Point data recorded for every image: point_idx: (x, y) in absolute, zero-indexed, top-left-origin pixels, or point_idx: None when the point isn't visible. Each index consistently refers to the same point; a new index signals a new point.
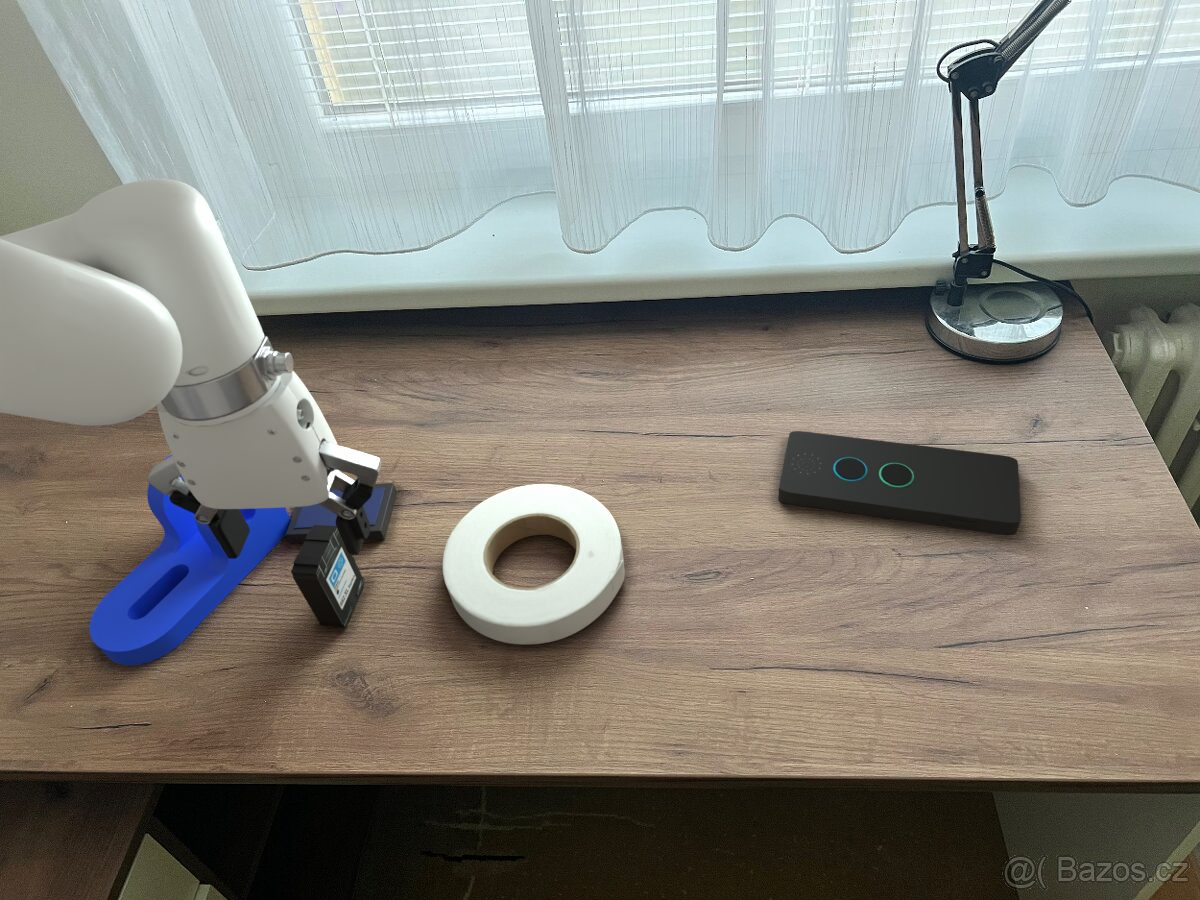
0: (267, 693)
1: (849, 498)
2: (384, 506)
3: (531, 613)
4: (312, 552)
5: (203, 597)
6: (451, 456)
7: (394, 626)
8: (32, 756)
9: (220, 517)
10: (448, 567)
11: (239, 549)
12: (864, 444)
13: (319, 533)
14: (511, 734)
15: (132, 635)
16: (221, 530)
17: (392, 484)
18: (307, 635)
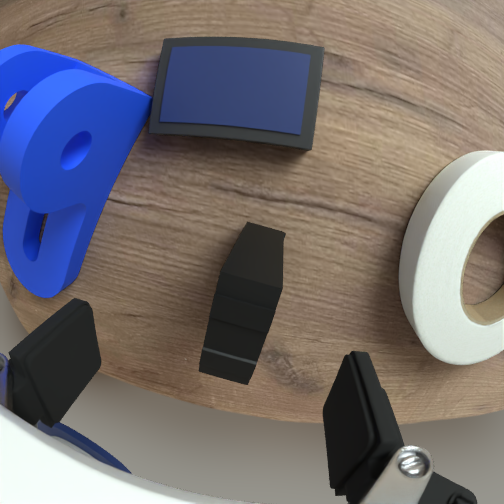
0: (184, 352)
1: None
2: (313, 95)
3: (474, 352)
4: (233, 349)
5: (75, 244)
6: (396, 16)
7: (324, 306)
8: None
9: (42, 411)
10: (422, 280)
11: (96, 357)
12: None
13: (240, 308)
14: (405, 408)
15: (38, 281)
16: (61, 417)
17: (323, 50)
18: (212, 296)
